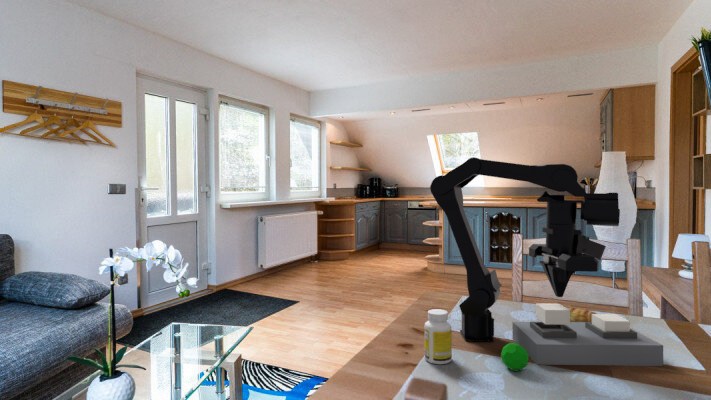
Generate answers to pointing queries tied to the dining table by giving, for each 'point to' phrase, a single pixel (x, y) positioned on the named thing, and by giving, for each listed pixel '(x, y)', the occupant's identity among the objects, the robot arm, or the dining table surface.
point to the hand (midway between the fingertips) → (559, 296)
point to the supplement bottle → (438, 337)
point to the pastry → (580, 315)
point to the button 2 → (610, 323)
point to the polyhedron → (514, 356)
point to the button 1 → (552, 314)
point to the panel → (585, 345)
